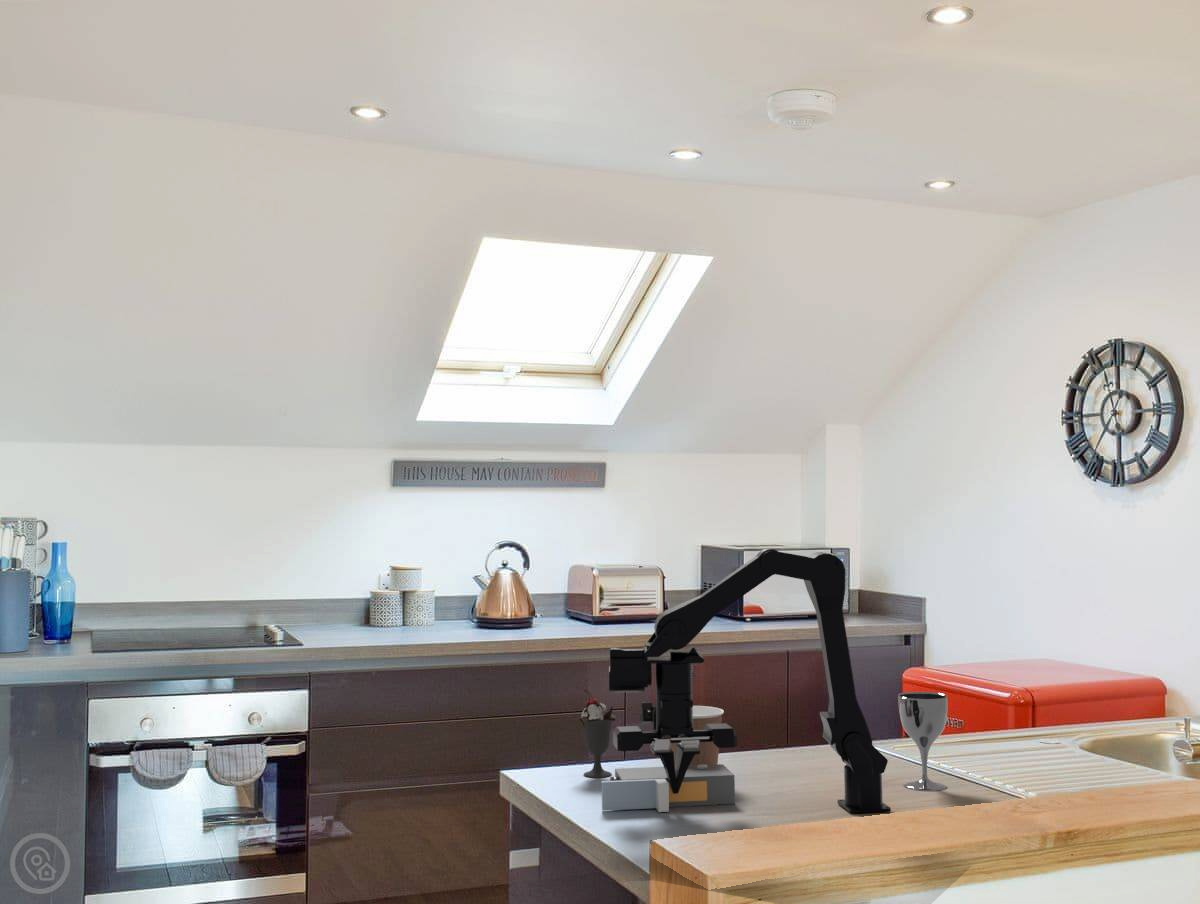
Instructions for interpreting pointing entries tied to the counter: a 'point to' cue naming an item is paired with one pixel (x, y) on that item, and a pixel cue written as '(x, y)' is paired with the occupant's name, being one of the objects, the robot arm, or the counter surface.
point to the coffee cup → (700, 719)
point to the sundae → (596, 733)
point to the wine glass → (923, 728)
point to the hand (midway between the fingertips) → (675, 793)
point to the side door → (635, 794)
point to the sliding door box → (690, 784)
